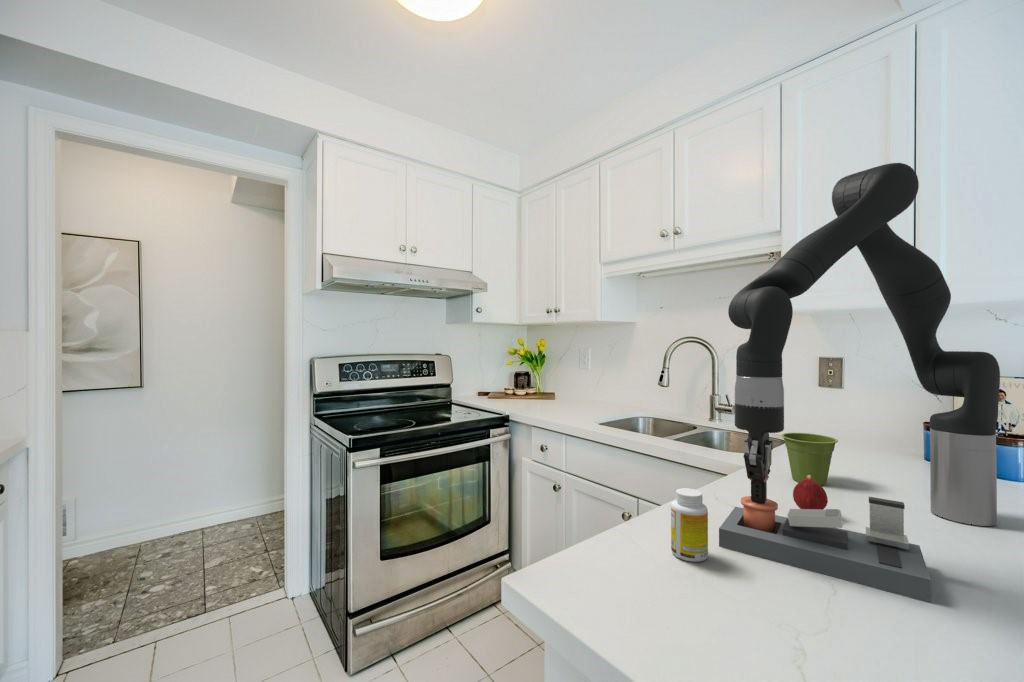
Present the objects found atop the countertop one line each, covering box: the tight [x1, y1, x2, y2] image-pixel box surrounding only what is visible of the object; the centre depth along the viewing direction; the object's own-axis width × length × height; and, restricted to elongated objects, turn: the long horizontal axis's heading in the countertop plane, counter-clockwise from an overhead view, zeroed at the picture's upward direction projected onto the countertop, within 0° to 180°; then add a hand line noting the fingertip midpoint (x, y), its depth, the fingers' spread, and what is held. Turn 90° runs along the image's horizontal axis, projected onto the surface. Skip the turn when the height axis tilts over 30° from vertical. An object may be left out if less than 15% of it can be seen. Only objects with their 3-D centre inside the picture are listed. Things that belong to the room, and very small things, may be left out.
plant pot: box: [781, 432, 839, 486], centre depth 110 cm, size 12×12×11 cm
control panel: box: [718, 506, 932, 604], centre depth 71 cm, size 13×26×4 cm, turn 52°
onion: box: [792, 475, 829, 510], centre depth 87 cm, size 6×6×8 cm
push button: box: [740, 495, 779, 533], centre depth 76 cm, size 6×6×4 cm
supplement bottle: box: [670, 487, 709, 563], centre depth 70 cm, size 6×6×10 cm
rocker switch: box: [787, 508, 844, 529], centre depth 71 cm, size 4×7×2 cm, turn 52°
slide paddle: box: [865, 496, 909, 549], centre depth 68 cm, size 4×5×6 cm
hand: (758, 501), depth 76 cm, fingers closed
